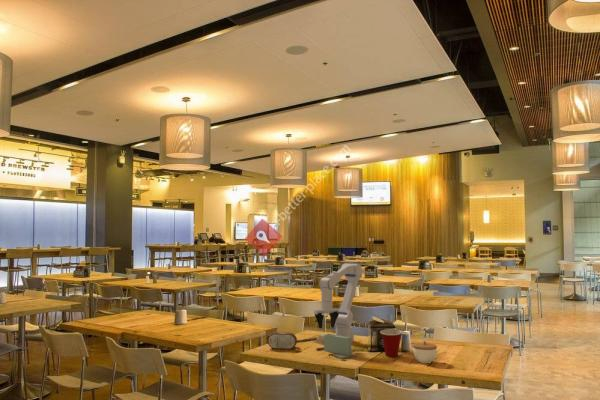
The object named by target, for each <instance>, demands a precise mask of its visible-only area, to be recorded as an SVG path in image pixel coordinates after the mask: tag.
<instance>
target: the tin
mask: <svg viewBox="0 0 600 400" xmlns="http://www.w3.org/2000/svg"><path fill="white" fill-rule="evenodd" d="M297 340H298V337H297V336H296V335H295V334H294V333H293V332H290V331H285V332H284V331H273V332H271V333H270V334H269V336H268V337H267V345H268V346H269V347H270V348H272V349H274V350H288V349H289V350H293V349H294V348H295V347H296V345H297V343H298V342H297Z"/></svg>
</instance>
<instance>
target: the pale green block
mask: <svg viewBox="0 0 600 400" xmlns="http://www.w3.org/2000/svg"><path fill="white" fill-rule="evenodd" d="M324 334H325V335H324V345H323V347H324V350H323V351H324V352H329V353H332V354H335V353H337V354H343V355H351V354H353V353H352V349H353V348H352V337H346V336H339V335H336V334H331V333H324Z"/></svg>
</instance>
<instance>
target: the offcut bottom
mask: <svg viewBox="0 0 600 400" xmlns="http://www.w3.org/2000/svg"><path fill="white" fill-rule="evenodd" d="M315 338H316V340H315V341H316V342H318V343H321V344H324V340H322V339H319V337H315ZM318 343H317V344H318ZM321 344H320V345H321Z"/></svg>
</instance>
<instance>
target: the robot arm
mask: <svg viewBox="0 0 600 400" xmlns="http://www.w3.org/2000/svg"><path fill="white" fill-rule="evenodd" d="M362 269H363V268H362V266H361V264H360V263H348V262H345V263H343V264H341V267H340V268H339V269H338V270H337V271H335V270H334V271H331V273H329V274H328V275H327V276H326V277H322V278H321V279H320V280H319V283H318V285H319V288H320V290H319V291H320V292H321V299H320V300H321V302H320V303H321V307H320V309H319V308H318V309H315V310H313V311H314V312H313V313H314V317H315V319H316V322H317V324H318V329H323V325H324V324H323V322H324V317H325V314H329V317H330V318H329V319H330V327H331V328H335V335H339V336H346V337H352V342H355V333H354V332H355V330H354V328H353V326H352V324H353V321H354V319H353V318H354V314H353V312H352V310H351V308H352V305H353V300H354V298H355V297H354V296H355V295H356V290H357V287H358V284H359V281H360V279H361V275H362V272H363V270H362ZM343 276H344V278H345V280H346V281H347V285H346V288H345V292H344V295H343V299H342V302H341V305H340V307H339V308H333V289H335V286H336V284H338V283H339V282H340V281H341V279H342V277H343Z"/></svg>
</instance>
